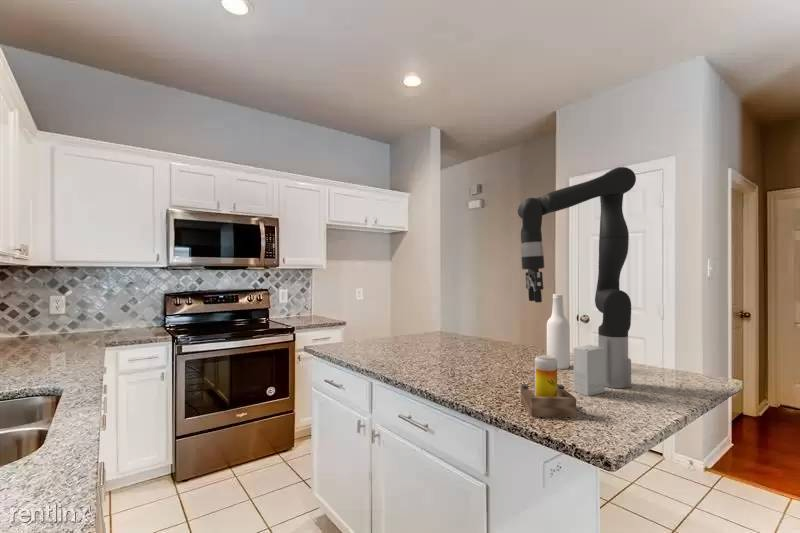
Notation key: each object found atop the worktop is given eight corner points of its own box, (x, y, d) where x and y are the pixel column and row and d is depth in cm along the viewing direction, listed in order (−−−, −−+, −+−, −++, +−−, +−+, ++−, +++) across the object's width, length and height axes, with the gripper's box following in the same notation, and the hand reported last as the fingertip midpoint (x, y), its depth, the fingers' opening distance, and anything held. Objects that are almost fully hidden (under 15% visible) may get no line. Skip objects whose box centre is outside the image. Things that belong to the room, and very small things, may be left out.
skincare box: (590, 388, 139) (590, 344, 139) (606, 393, 133) (605, 347, 133) (572, 391, 135) (572, 346, 135) (588, 396, 130) (587, 349, 130)
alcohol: (567, 364, 173) (566, 293, 173) (571, 370, 164) (571, 294, 164) (545, 364, 174) (544, 293, 174) (548, 369, 166) (548, 294, 166)
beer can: (558, 412, 115) (558, 359, 115) (536, 411, 116) (536, 358, 116) (555, 405, 121) (555, 354, 121) (533, 404, 122) (533, 354, 122)
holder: (561, 403, 123) (561, 383, 123) (576, 417, 112) (576, 395, 112) (520, 402, 124) (520, 383, 124) (531, 416, 112) (531, 395, 112)
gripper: (549, 253, 137) (552, 302, 137) (538, 256, 151) (540, 300, 151) (526, 255, 138) (529, 303, 137) (517, 257, 152) (519, 300, 152)
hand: (535, 301), depth 144 cm, fingers open, 8 cm apart
